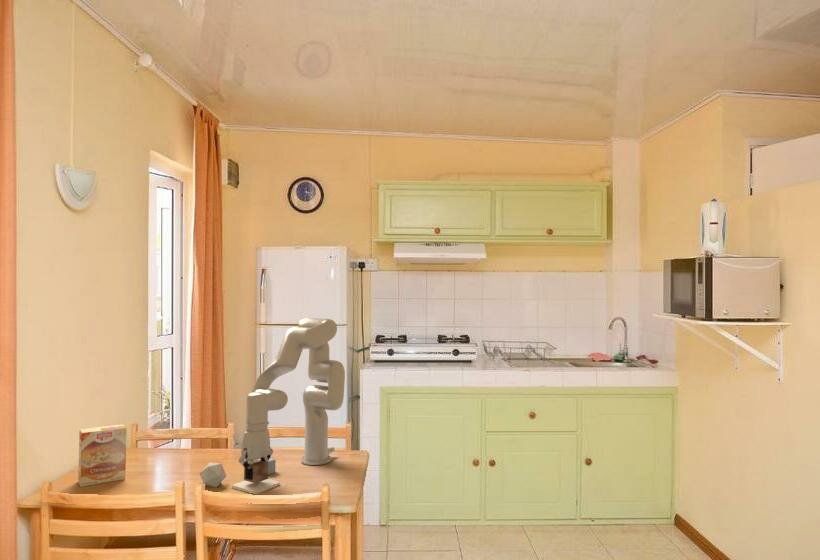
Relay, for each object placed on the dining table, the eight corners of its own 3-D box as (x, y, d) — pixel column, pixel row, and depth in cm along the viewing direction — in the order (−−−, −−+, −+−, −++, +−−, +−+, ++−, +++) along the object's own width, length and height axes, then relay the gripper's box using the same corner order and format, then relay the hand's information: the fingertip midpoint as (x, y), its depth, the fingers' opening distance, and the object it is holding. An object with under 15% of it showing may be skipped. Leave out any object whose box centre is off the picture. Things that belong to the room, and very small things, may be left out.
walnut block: (256, 475, 208) (257, 459, 208) (268, 478, 204) (268, 462, 205) (243, 480, 203) (244, 463, 203) (255, 483, 199) (255, 466, 200)
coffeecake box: (79, 487, 201) (81, 432, 202) (77, 481, 207) (78, 428, 208) (126, 479, 210) (127, 427, 211) (122, 474, 216) (123, 423, 216)
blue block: (266, 469, 223) (266, 457, 223) (275, 472, 220) (275, 459, 220) (256, 473, 219) (256, 460, 219) (265, 475, 216) (265, 462, 216)
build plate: (257, 478, 212) (257, 476, 212) (280, 484, 205) (280, 482, 205) (231, 487, 202) (231, 485, 202) (254, 494, 195) (254, 491, 195)
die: (230, 484, 207) (223, 460, 212) (224, 480, 200) (217, 454, 204) (208, 494, 205) (201, 469, 210) (201, 489, 198) (195, 464, 202)
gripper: (267, 421, 213) (266, 468, 213) (230, 430, 199) (229, 481, 198) (281, 423, 209) (280, 472, 209) (245, 433, 195) (244, 485, 194)
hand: (256, 476), depth 204 cm, fingers closed on walnut block, 6 cm apart
